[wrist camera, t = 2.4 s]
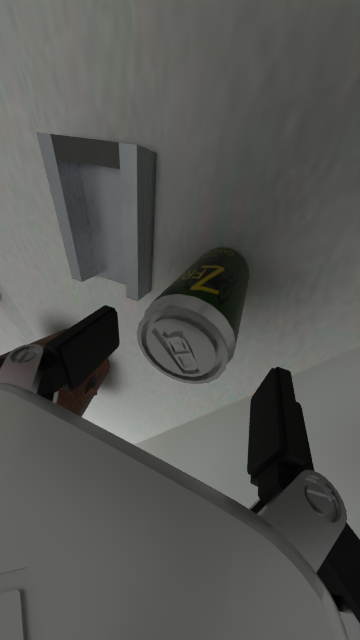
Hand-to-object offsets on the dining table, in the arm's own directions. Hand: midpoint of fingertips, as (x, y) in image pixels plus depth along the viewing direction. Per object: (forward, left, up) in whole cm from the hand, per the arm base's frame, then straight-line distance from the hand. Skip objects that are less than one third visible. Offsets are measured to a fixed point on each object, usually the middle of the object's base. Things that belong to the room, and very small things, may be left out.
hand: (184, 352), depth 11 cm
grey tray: (-3, -13, -11) cm, 17 cm away
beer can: (-1, 0, -11) cm, 11 cm away
